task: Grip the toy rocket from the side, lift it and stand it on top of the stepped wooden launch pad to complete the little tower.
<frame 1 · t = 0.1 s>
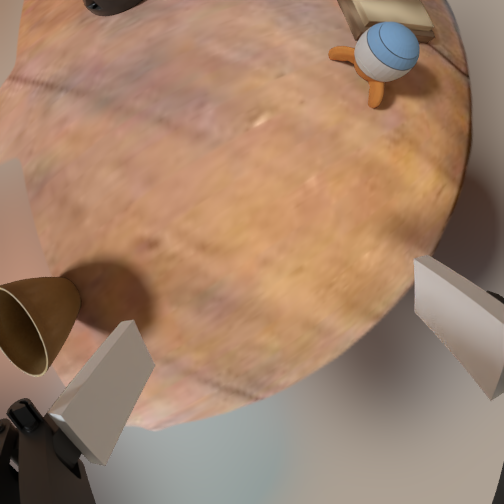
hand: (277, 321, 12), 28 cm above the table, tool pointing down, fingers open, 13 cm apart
plant pot: (67, 294, 44), on the table
launch pad: (378, 7, 28), on the table
toy rocket: (363, 80, 33), on the table
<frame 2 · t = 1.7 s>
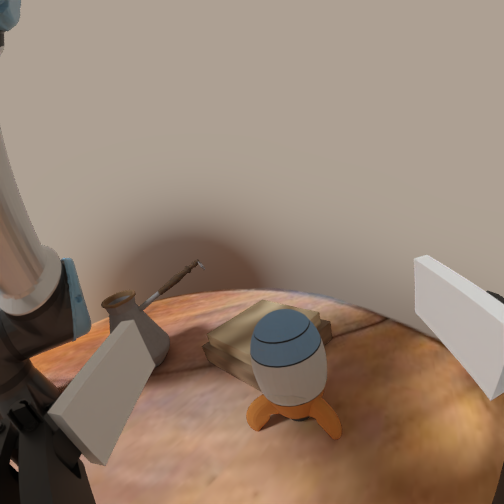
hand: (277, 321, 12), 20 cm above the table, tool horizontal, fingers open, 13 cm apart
coffee pot: (171, 354, 47), on the table
launch pad: (268, 351, 42), on the table
toy rocket: (308, 424, 26), on the table
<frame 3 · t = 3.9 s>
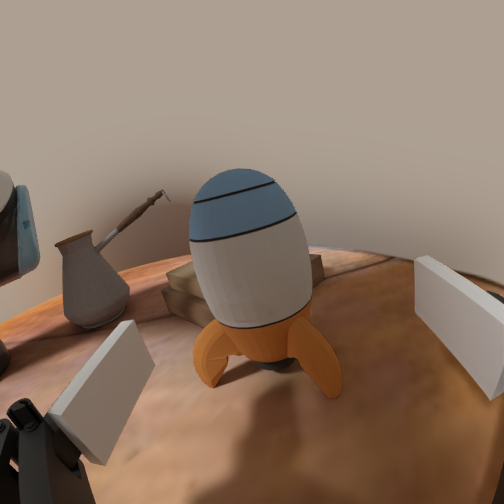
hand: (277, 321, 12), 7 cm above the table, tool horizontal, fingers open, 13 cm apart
coffee pot: (131, 309, 39), on the table
launch pad: (243, 296, 34), on the table
toy rocket: (289, 377, 19), on the table
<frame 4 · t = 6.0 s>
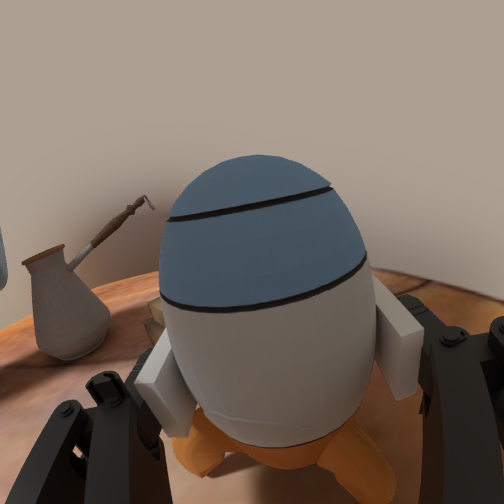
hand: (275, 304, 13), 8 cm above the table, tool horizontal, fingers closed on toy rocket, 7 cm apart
coffee pot: (112, 338, 31), on the table
launch pad: (245, 333, 26), on the table
toy rocket: (310, 472, 11), on the table, touching gripper
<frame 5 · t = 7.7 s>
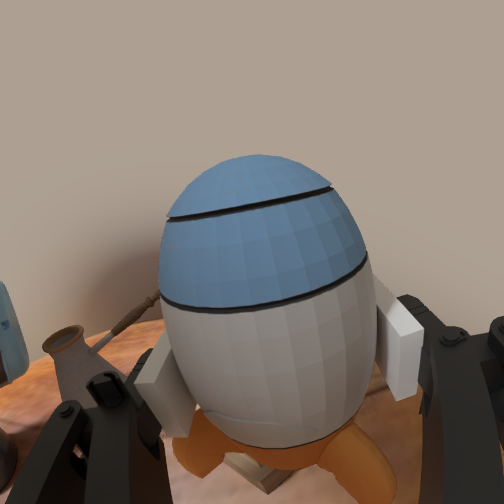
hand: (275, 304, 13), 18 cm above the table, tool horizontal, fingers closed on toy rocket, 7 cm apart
coffee pot: (138, 408, 32), on the table
launch pad: (267, 418, 27), on the table
toy rocket: (310, 473, 11), point 10 cm above the table, touching gripper
when the fingers open (14 cm above the table, at t = 9.6 s): toy rocket drops 2 cm, resting on launch pad.
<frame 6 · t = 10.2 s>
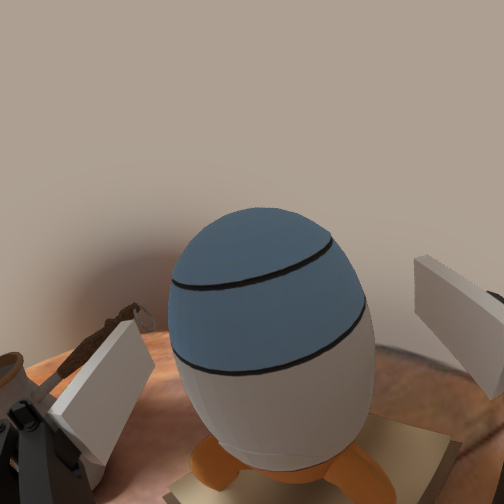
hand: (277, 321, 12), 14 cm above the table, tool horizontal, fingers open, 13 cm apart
coffee pot: (115, 470, 18), on the table
toy rocket: (319, 483, 11), point 5 cm above the table, touching launch pad
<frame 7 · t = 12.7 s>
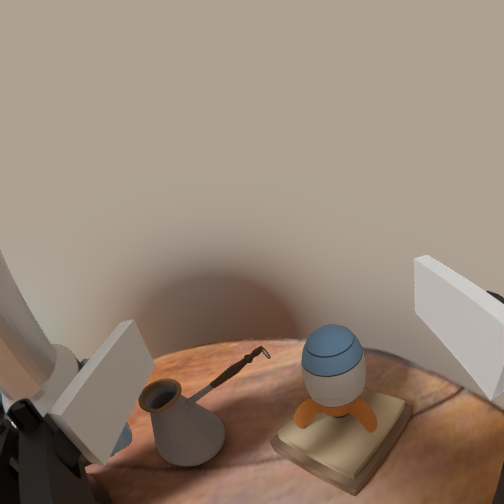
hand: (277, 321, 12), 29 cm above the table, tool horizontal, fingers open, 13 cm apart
coffee pot: (226, 438, 37), on the table
launch pad: (344, 438, 31), on the table
toy rocket: (346, 419, 29), point 5 cm above the table, touching launch pad
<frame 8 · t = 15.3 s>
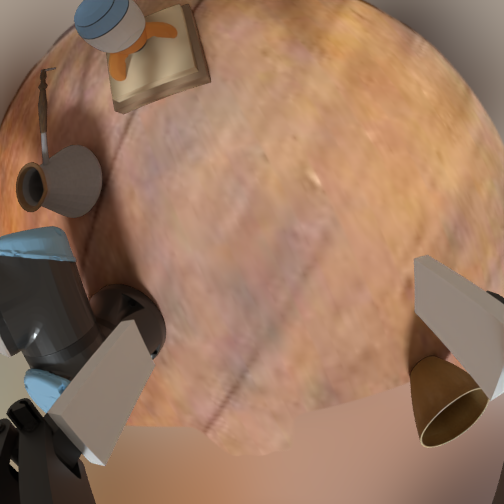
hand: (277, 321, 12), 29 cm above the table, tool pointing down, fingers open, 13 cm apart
plant pot: (423, 369, 47), on the table
coffee pot: (87, 150, 38), on the table
launch pad: (157, 59, 33), on the table
toy rocket: (147, 46, 29), point 5 cm above the table, touching launch pad
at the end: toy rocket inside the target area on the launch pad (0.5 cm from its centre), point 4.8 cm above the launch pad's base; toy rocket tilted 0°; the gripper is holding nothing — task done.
